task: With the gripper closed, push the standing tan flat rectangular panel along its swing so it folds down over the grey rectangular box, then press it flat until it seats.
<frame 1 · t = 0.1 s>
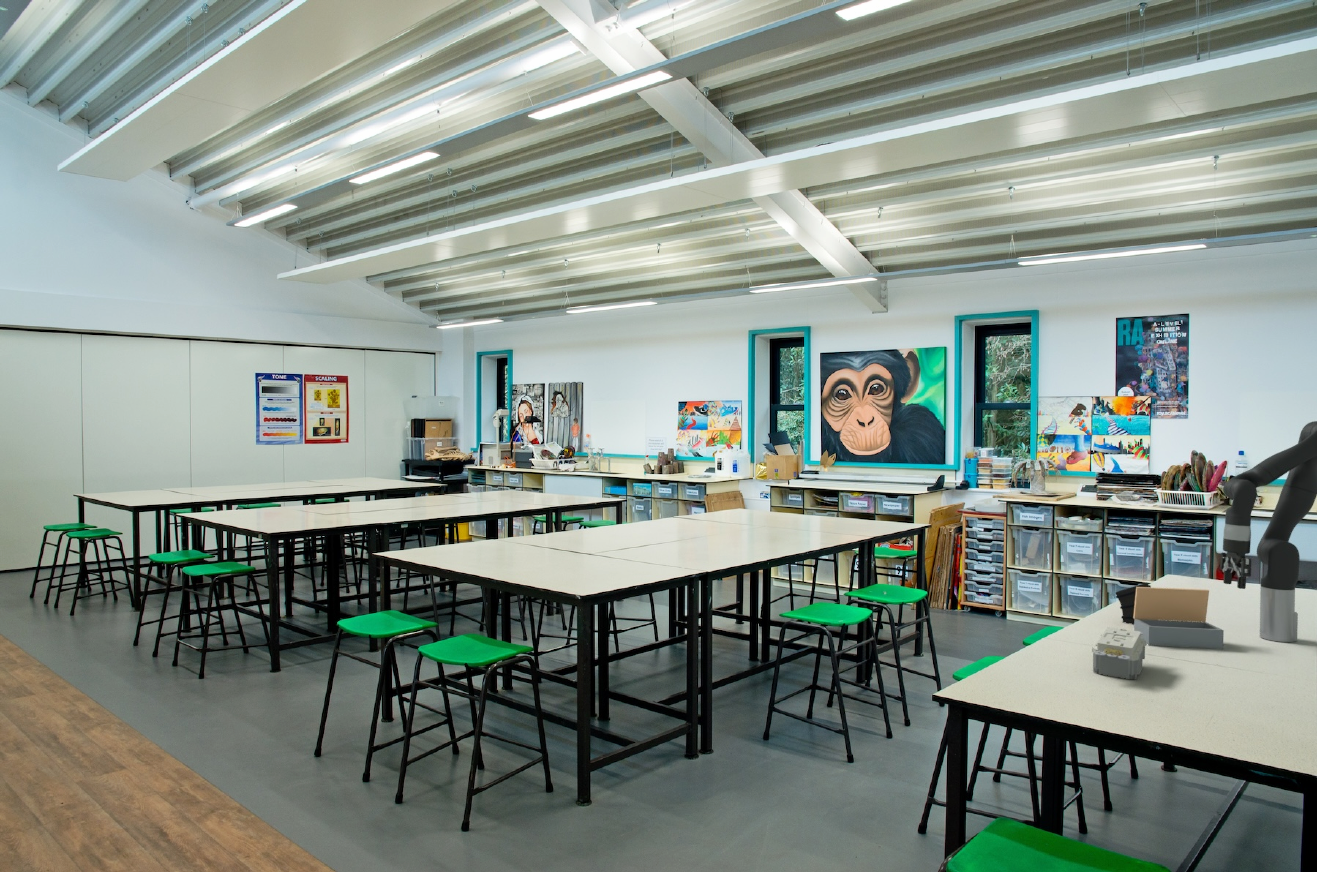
hand: (1234, 586, 273), 17 cm above the table, tool pointing down, fingers open, 8 cm apart
grey rectangular box: (1177, 642, 265), on the table
electrical outlet: (1118, 671, 234), on the table
tan flat rectangular panel: (1170, 604, 270), point 12 cm above the table, hinge at 80.0°
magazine: (1136, 624, 291), on the table
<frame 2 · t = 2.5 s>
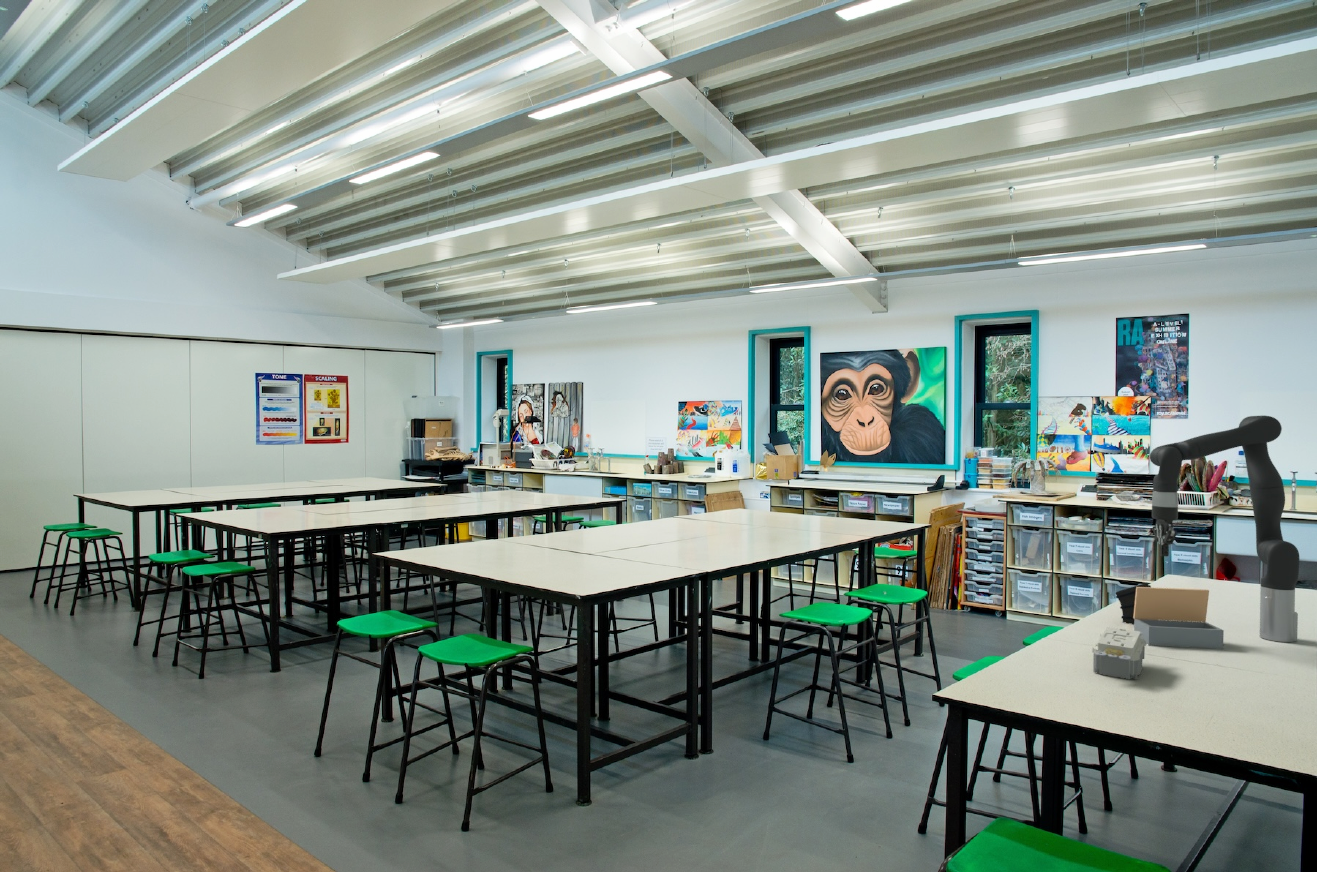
hand: (1164, 555, 275), 27 cm above the table, tool pointing down, fingers closed
nothing on the table moved.
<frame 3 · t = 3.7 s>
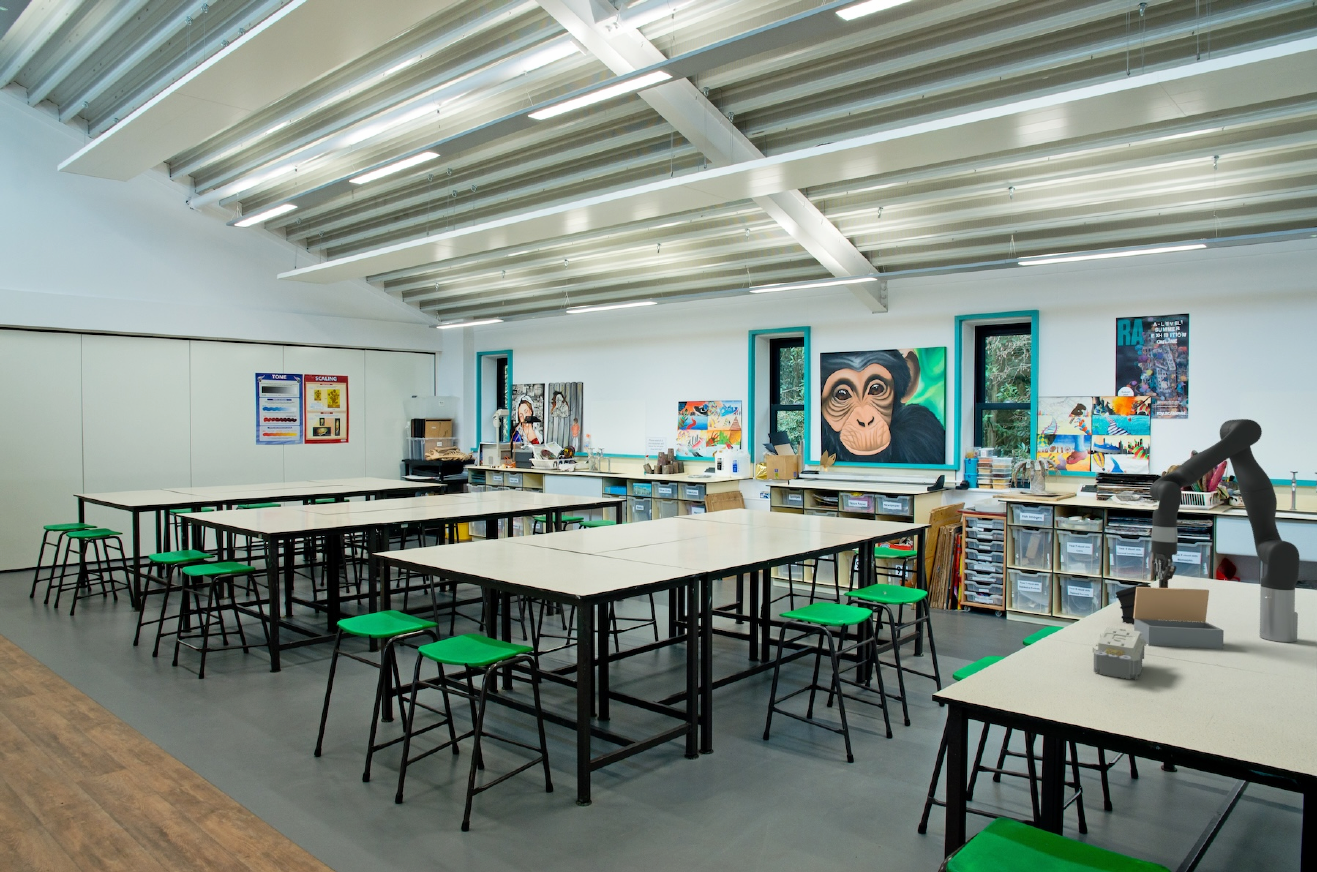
hand: (1163, 590, 275), 15 cm above the table, tool pointing down, fingers closed
nothing on the table moved.
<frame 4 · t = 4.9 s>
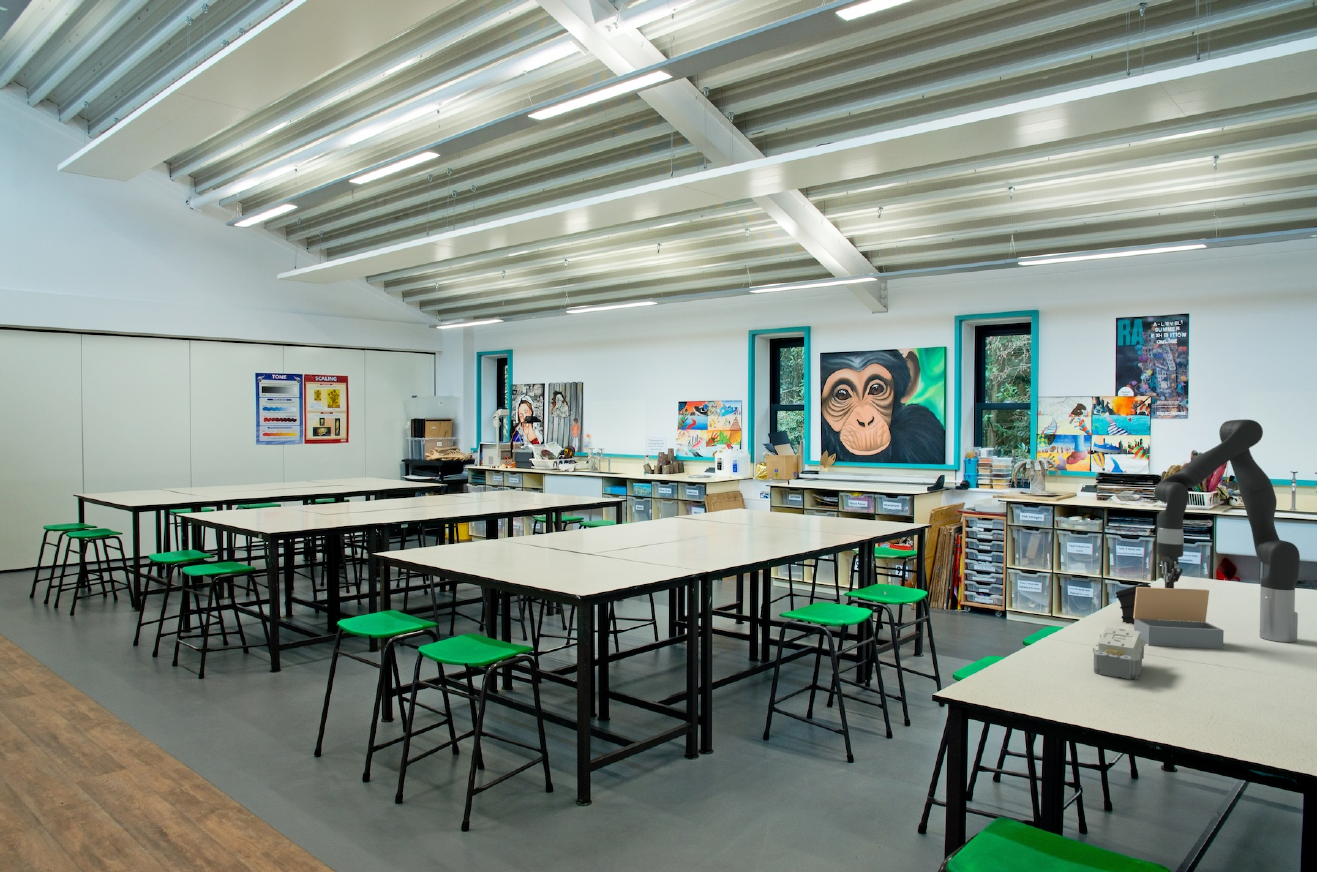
hand: (1169, 593, 271), 15 cm above the table, tool pointing down, fingers closed
tan flat rectangular panel: (1170, 604, 270), point 12 cm above the table, hinge at 79.7°, touching gripper
everything else where it was.
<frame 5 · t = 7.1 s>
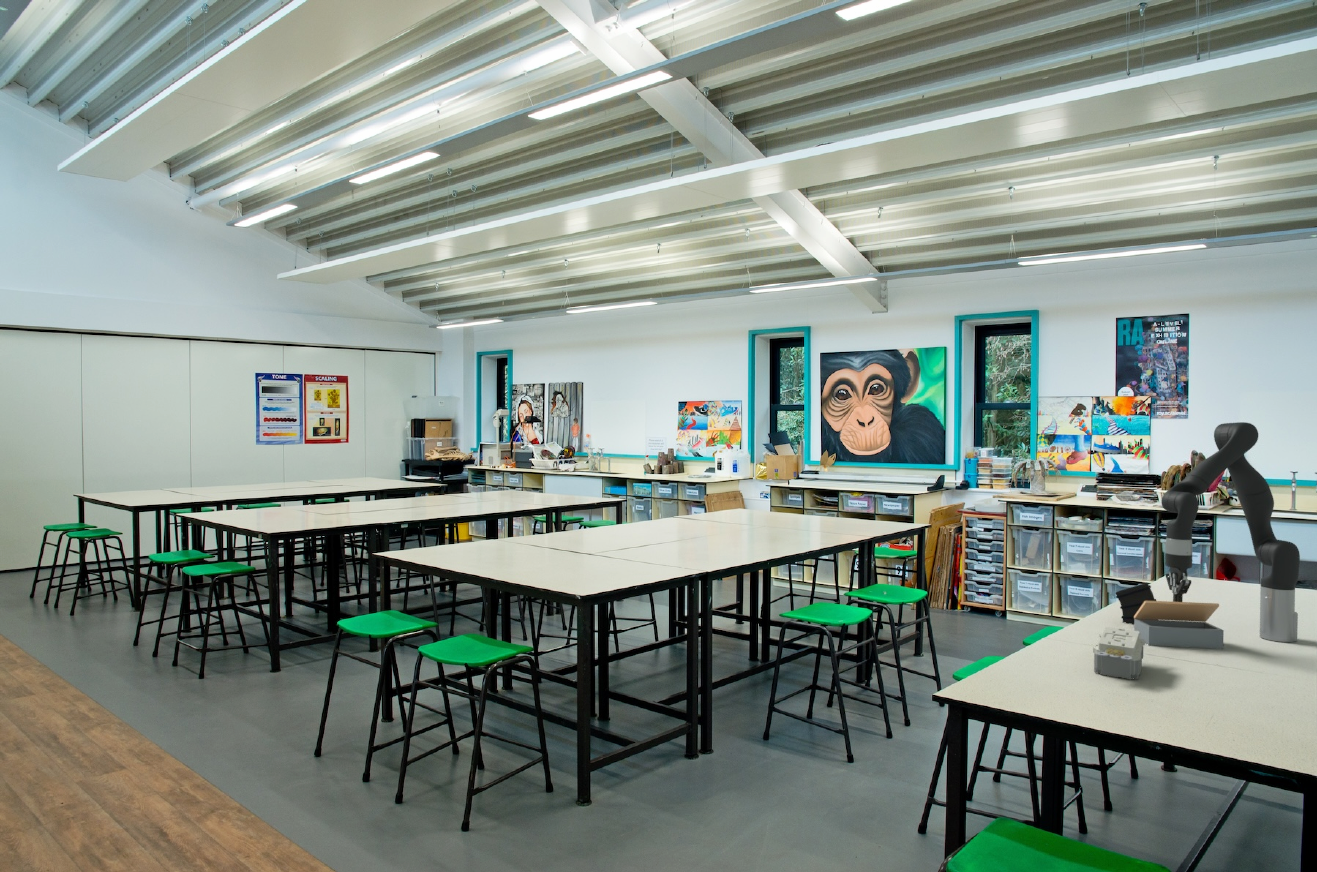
hand: (1177, 605, 265), 12 cm above the table, tool pointing down, fingers closed
tan flat rectangular panel: (1175, 611, 267), point 10 cm above the table, hinge at 40.4°, touching gripper
everything else where it was.
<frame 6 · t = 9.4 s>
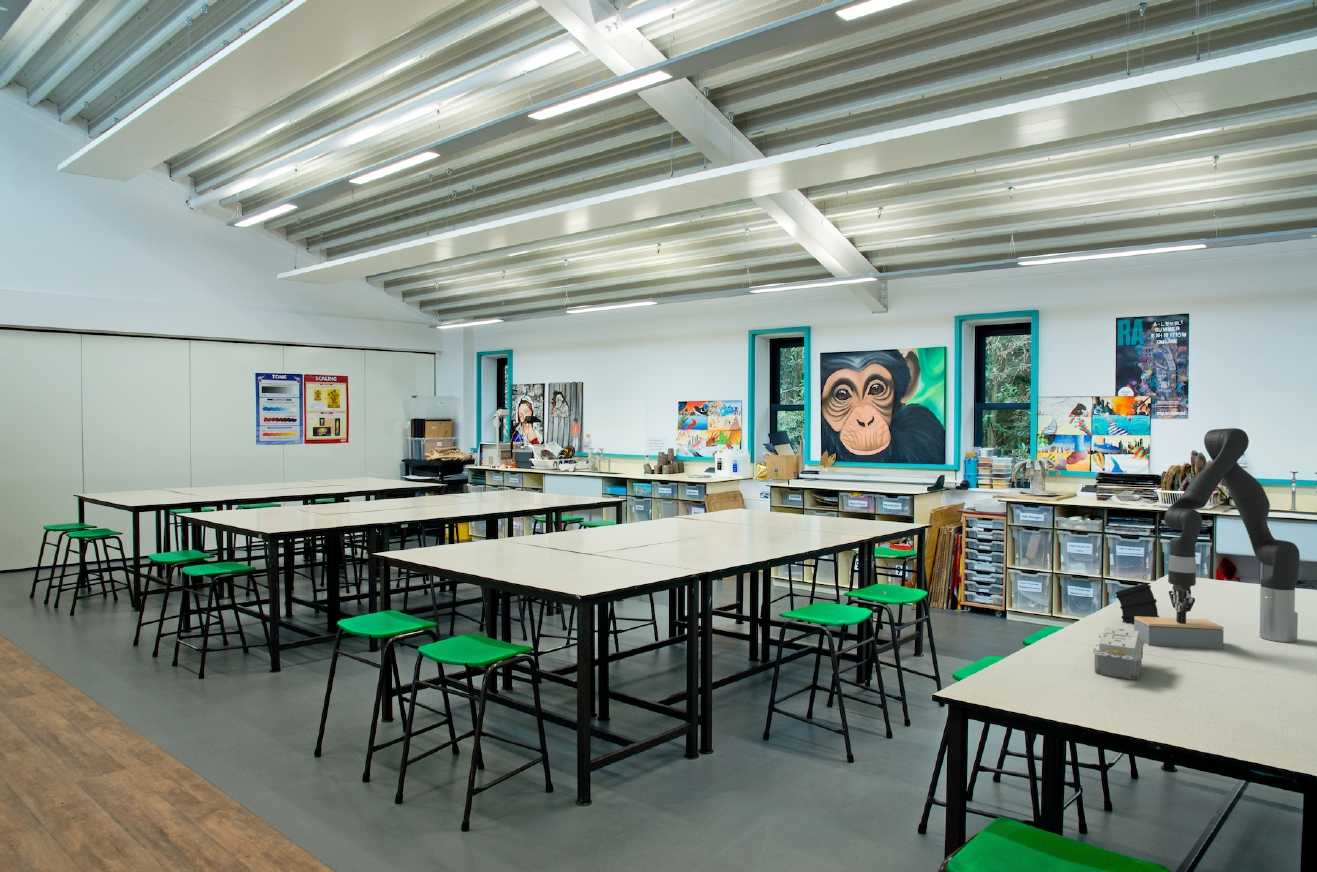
hand: (1181, 623, 263), 7 cm above the table, tool pointing down, fingers closed
tan flat rectangular panel: (1177, 622, 265), point 7 cm above the table, hinge at 0.8°, touching gripper
everything else where it was.
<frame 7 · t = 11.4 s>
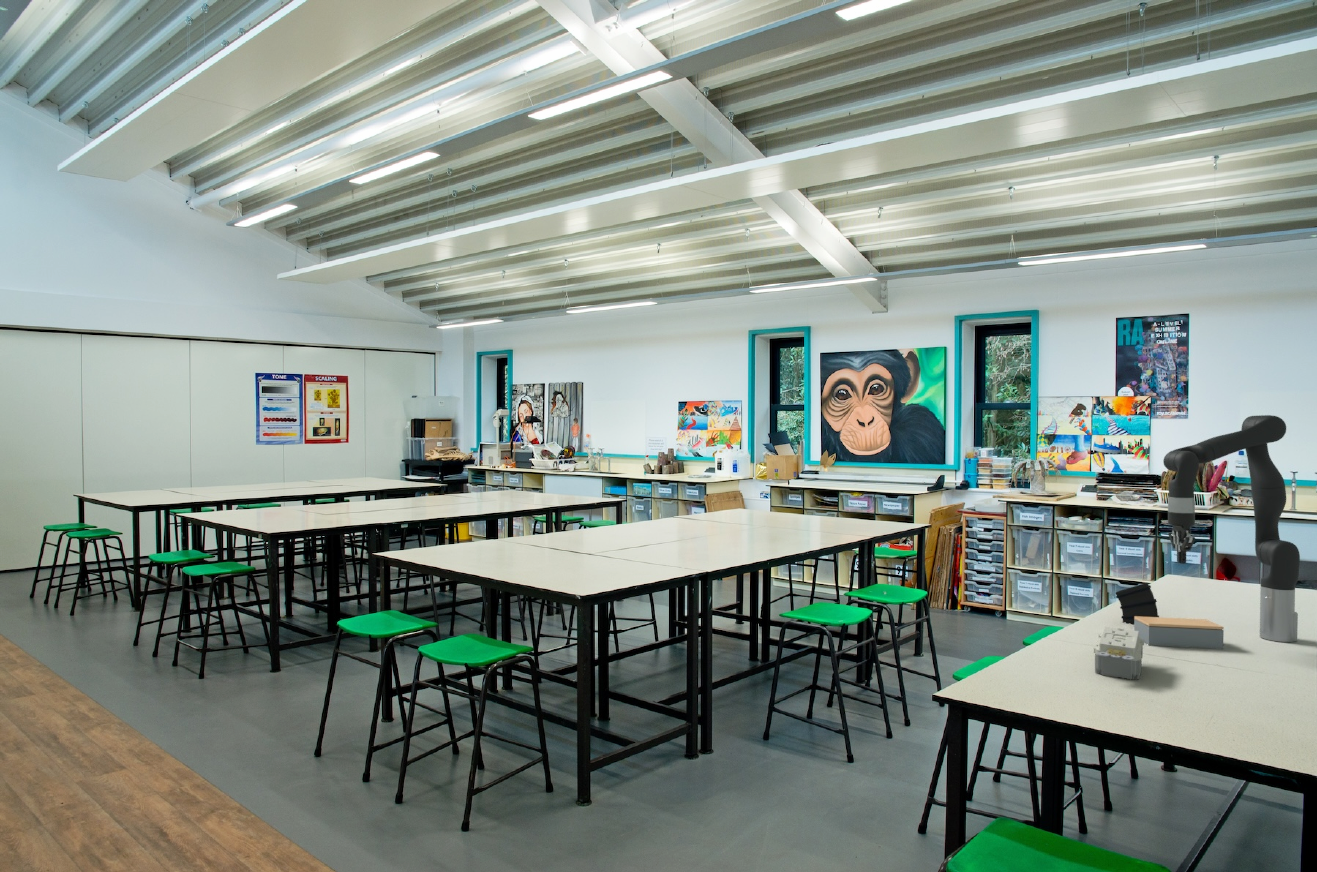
hand: (1181, 562, 269), 26 cm above the table, tool pointing down, fingers closed
tan flat rectangular panel: (1177, 622, 265), point 7 cm above the table, hinge at 0.7°
everything else where it was.
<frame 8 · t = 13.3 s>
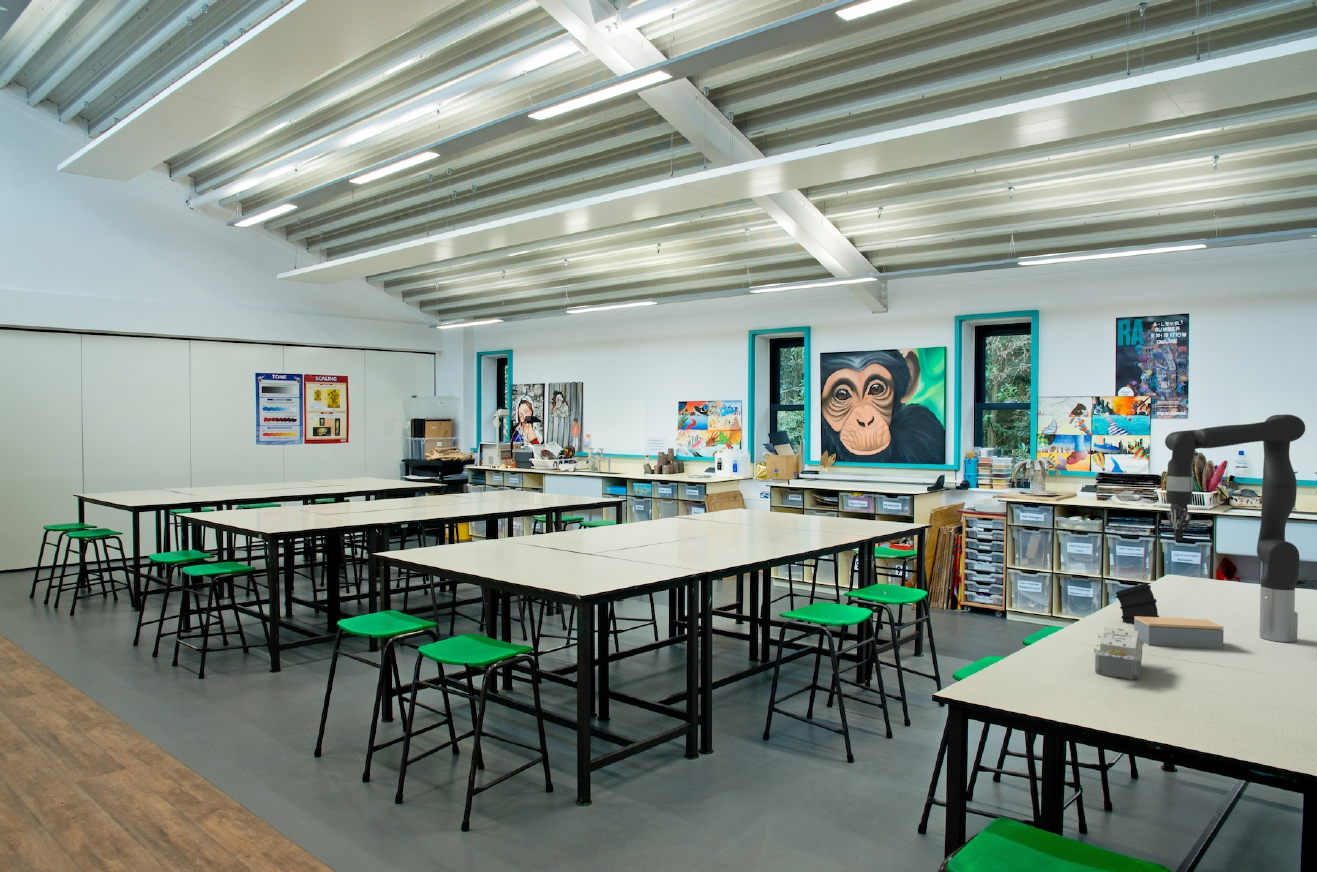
hand: (1178, 540, 278), 32 cm above the table, tool pointing down, fingers closed
nothing on the table moved.
at the end: tan flat rectangular panel at +1° (first picture: +80°); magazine moved 0.3 cm from its start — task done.
